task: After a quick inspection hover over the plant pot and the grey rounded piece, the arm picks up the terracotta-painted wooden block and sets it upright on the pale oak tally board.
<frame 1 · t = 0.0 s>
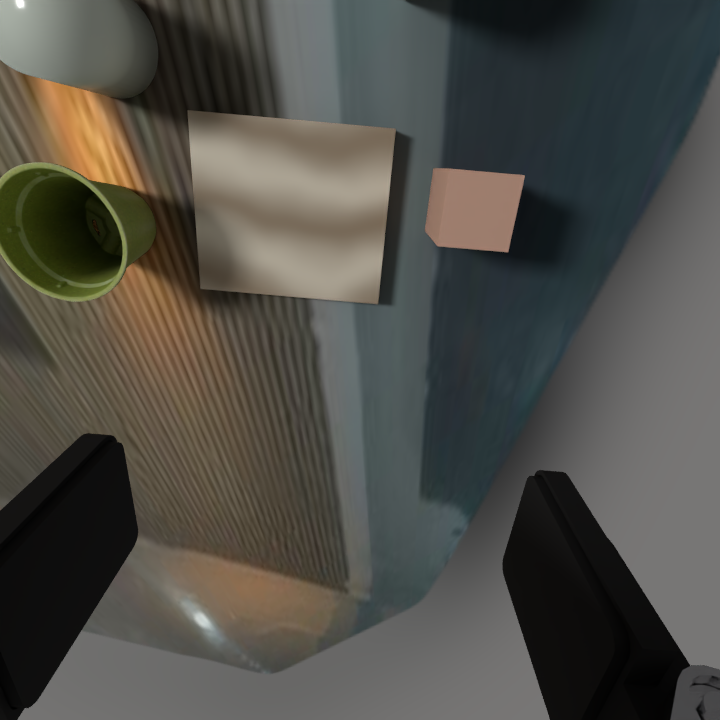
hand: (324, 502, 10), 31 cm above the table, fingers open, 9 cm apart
tally board: (293, 213, 37), on the table
plant pot: (124, 221, 38), on the table
grey rounded piece: (111, 44, 33), on the table
tally block: (458, 202, 37), on the table
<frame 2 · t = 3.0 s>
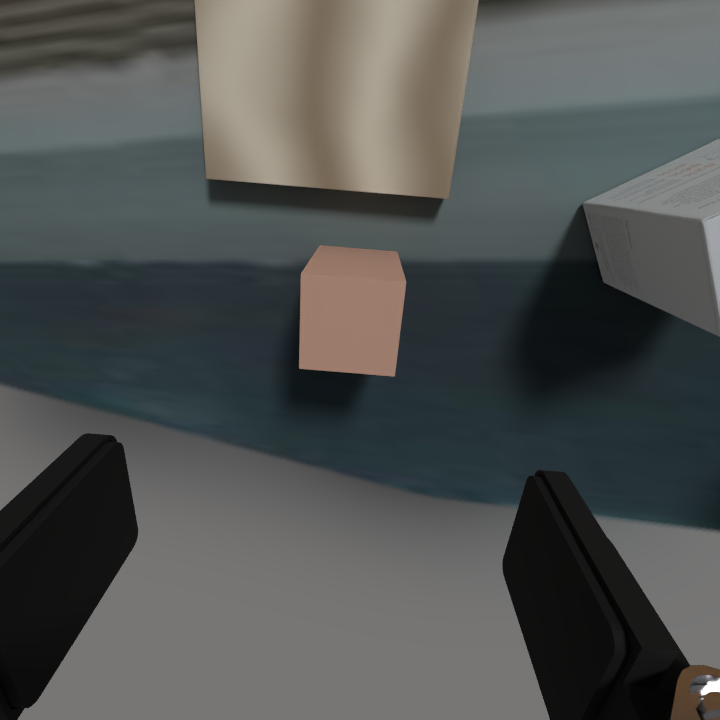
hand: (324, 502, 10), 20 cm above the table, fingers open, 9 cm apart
tally board: (337, 26, 23), on the table
small box: (653, 214, 27), on the table
tally block: (355, 286, 29), on the table
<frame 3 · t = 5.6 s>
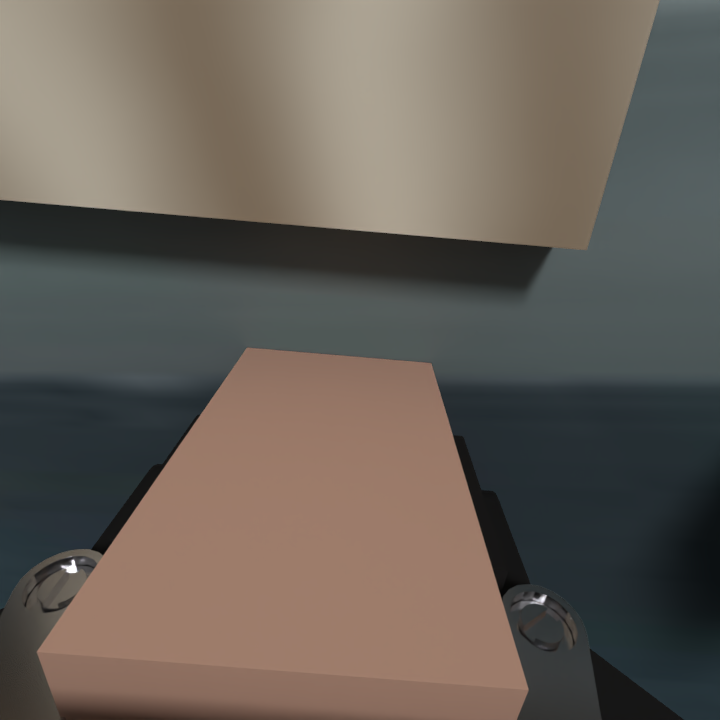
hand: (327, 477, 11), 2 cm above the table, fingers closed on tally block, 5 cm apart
tally block: (334, 432, 13), on the table, touching gripper
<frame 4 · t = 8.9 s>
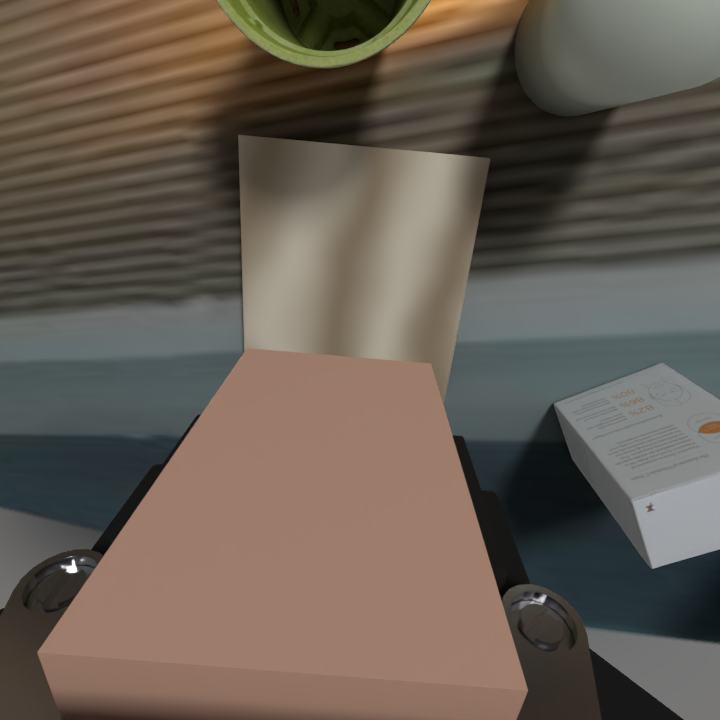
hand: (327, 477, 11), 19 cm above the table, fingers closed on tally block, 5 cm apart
tally board: (354, 282, 28), on the table
small box: (612, 409, 32), on the table
grey rounded piece: (581, 41, 23), on the table
tally block: (334, 433, 13), point 17 cm above the table, touching gripper
when the fingers open (5 cm above the table, at t = 12.0 s): tally block drops 1 cm, resting on tally board.
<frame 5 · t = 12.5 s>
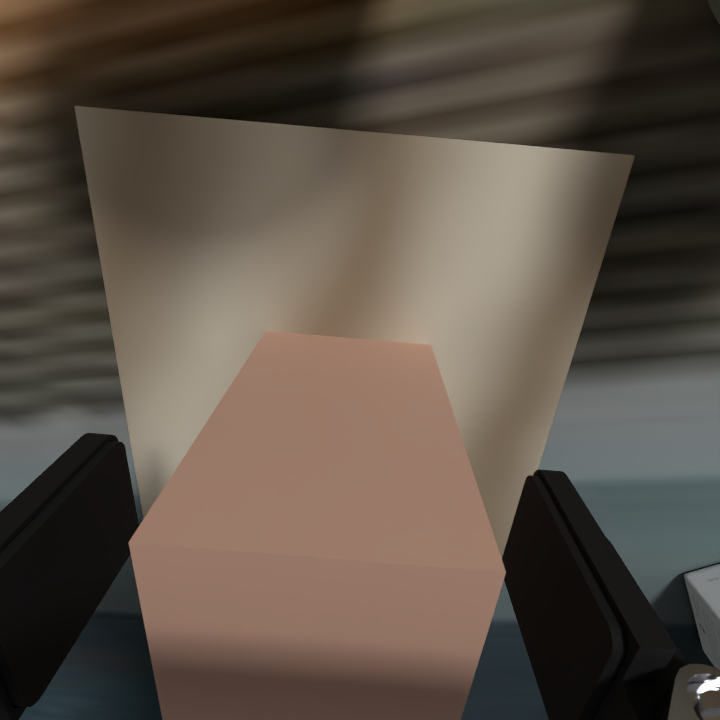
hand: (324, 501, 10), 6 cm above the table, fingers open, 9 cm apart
tally board: (340, 386, 15), on the table
tally block: (343, 409, 14), point 1 cm above the table, touching tally board
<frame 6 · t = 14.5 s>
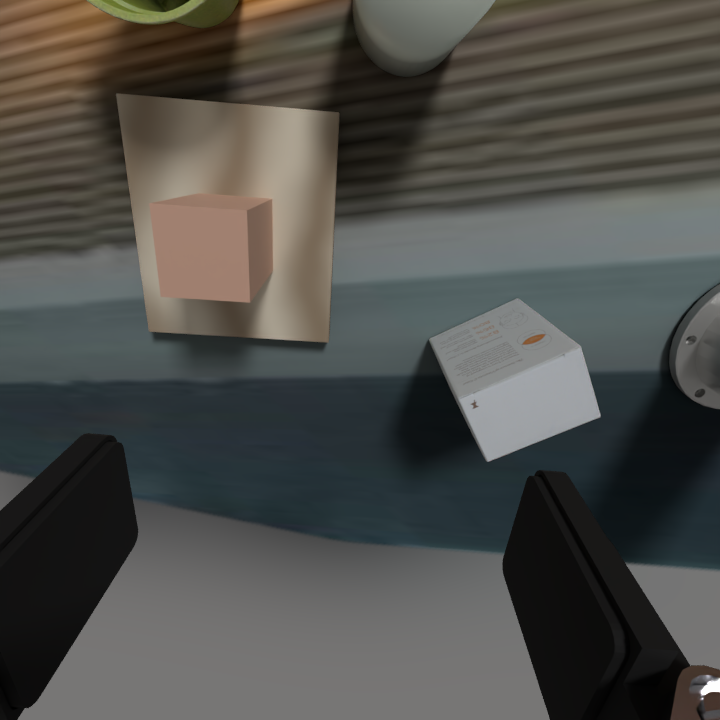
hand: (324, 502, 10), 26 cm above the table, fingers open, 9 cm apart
tally board: (239, 229, 32), on the table
small box: (482, 343, 37), on the table
grey rounded piece: (409, 10, 27), on the table
tally block: (237, 233, 31), point 1 cm above the table, touching tally board
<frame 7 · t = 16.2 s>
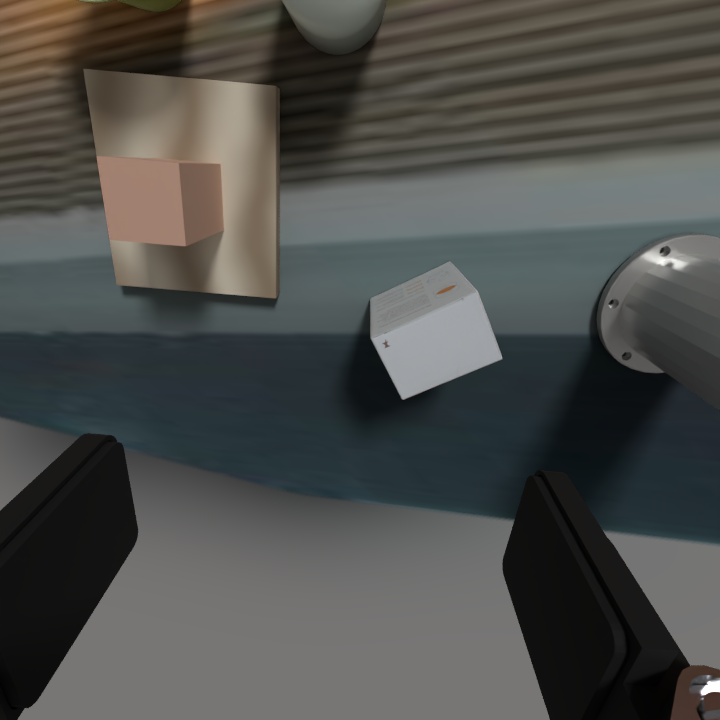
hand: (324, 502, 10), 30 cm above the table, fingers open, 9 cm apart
tally board: (195, 193, 36), on the table
small box: (420, 305, 40), on the table
tally block: (191, 195, 35), point 1 cm above the table, touching tally board
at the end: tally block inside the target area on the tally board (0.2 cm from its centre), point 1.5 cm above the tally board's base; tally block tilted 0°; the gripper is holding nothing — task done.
